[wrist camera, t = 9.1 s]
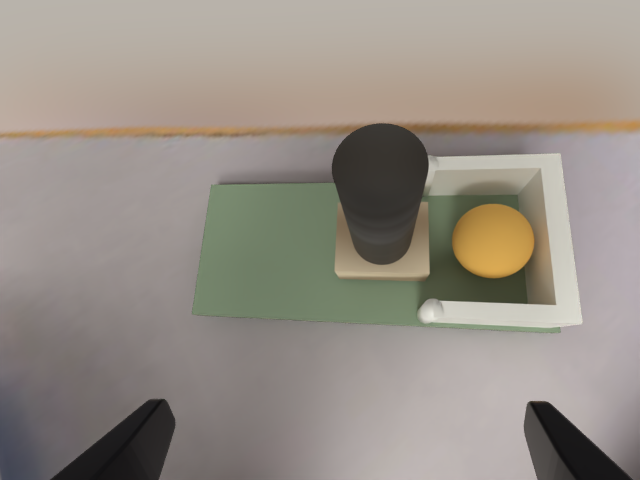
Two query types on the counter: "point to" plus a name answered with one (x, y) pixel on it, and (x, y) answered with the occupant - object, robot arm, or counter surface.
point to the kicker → (381, 205)
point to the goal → (548, 227)
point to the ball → (493, 241)
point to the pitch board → (329, 261)
